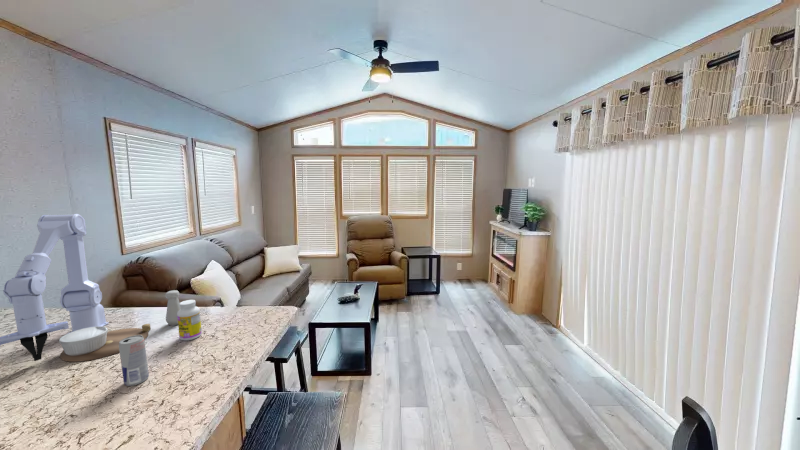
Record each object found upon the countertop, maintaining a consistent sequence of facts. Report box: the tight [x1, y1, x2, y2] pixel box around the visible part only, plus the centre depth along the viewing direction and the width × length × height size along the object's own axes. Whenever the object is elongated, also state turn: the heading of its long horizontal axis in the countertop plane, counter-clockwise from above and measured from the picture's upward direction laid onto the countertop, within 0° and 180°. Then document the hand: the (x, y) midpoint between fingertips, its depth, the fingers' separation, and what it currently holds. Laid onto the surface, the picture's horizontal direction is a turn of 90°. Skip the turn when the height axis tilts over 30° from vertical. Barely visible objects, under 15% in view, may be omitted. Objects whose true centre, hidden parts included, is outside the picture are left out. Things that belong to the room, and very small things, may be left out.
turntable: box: [59, 323, 151, 363], centre depth 108 cm, size 22×22×2 cm
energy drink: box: [119, 335, 150, 387], centre depth 87 cm, size 5×5×12 cm
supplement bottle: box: [177, 299, 203, 342], centre depth 112 cm, size 7×7×13 cm
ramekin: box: [58, 326, 109, 356], centre depth 104 cm, size 11×11×5 cm
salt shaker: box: [165, 289, 181, 327], centre depth 123 cm, size 6×6×13 cm
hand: (37, 359), depth 96 cm, fingers closed
